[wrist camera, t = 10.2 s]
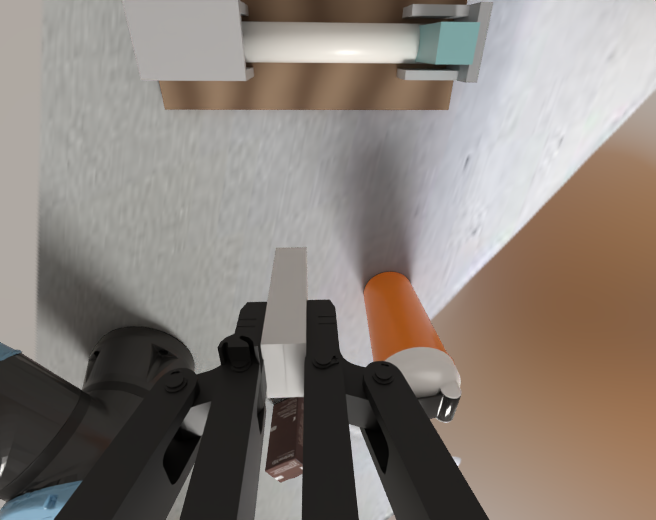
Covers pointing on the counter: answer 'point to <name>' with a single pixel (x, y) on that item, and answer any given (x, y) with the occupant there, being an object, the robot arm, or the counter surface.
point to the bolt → (360, 42)
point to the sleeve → (188, 39)
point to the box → (286, 440)
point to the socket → (459, 14)
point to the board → (320, 68)
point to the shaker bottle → (411, 344)
